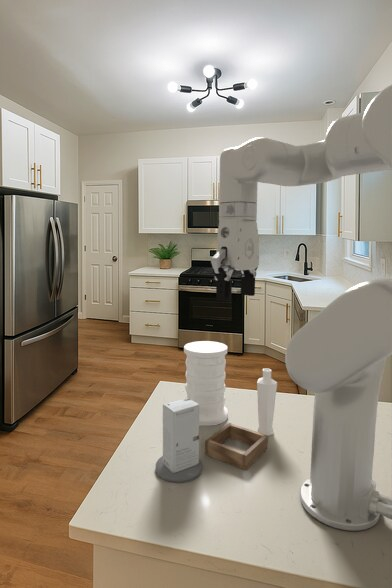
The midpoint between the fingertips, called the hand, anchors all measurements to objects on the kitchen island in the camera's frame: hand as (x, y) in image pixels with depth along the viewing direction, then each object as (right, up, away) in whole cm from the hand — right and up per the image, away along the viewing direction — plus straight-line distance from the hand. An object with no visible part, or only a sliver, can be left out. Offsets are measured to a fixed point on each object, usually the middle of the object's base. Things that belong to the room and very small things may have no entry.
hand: (236, 297), depth 78 cm
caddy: (0, -32, +2) cm, 32 cm away
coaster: (-12, -33, -5) cm, 35 cm away
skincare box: (-11, -33, -4) cm, 35 cm away
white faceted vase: (+8, -32, +10) cm, 34 cm away
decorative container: (-6, -30, +18) cm, 36 cm away
